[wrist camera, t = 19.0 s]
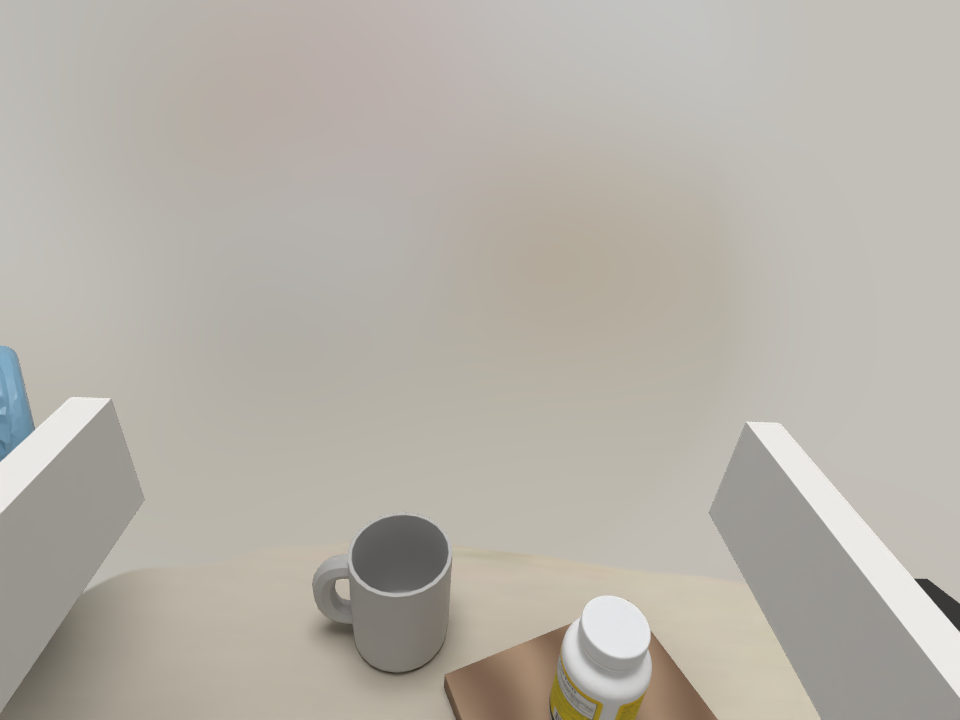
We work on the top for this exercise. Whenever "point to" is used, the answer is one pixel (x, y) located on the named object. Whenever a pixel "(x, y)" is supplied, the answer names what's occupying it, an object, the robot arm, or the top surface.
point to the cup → (392, 590)
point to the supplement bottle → (603, 663)
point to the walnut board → (529, 678)
